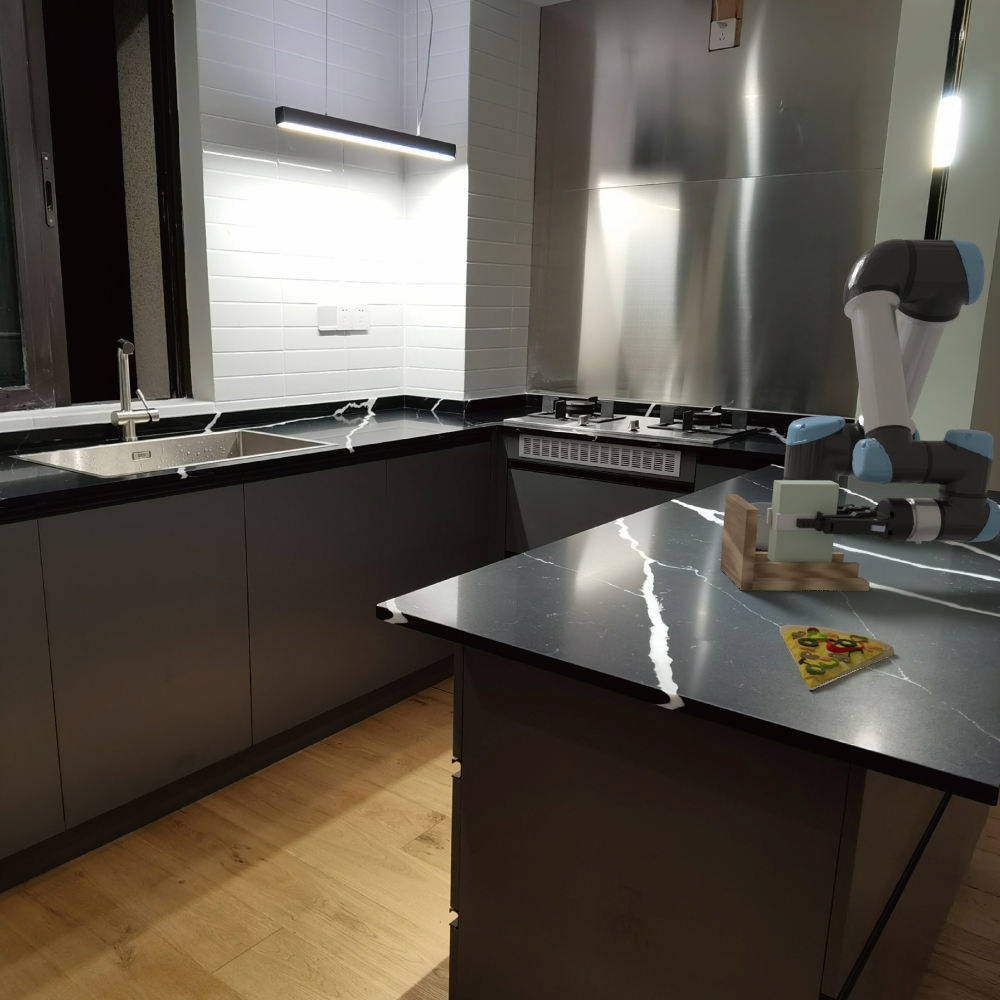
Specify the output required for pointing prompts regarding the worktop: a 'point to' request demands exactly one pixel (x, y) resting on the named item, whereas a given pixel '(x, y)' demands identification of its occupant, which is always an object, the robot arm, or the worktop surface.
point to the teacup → (762, 526)
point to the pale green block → (802, 501)
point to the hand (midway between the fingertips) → (772, 518)
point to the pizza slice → (830, 651)
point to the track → (767, 575)
